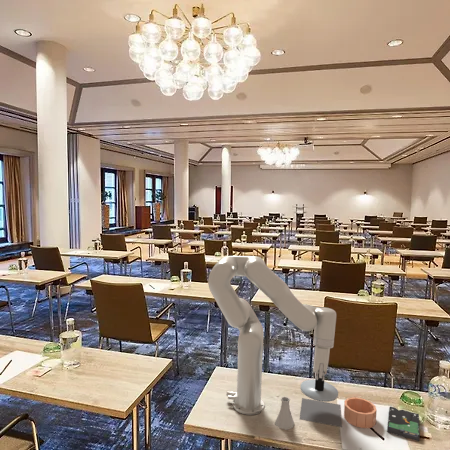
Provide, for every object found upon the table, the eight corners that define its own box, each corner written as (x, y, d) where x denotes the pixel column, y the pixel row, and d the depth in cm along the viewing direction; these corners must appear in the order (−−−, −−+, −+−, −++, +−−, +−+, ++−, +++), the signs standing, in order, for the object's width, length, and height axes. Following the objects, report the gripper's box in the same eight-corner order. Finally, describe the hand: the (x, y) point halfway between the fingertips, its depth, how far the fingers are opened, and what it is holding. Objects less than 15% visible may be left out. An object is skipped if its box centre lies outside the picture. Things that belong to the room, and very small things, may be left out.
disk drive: (388, 412, 140) (386, 433, 127) (389, 405, 140) (387, 425, 127) (418, 420, 135) (420, 443, 122) (419, 413, 135) (420, 435, 122)
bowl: (344, 426, 129) (345, 410, 129) (343, 410, 140) (344, 395, 140) (377, 433, 126) (378, 416, 126) (373, 415, 137) (374, 400, 137)
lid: (299, 396, 132) (300, 382, 131) (301, 379, 145) (302, 366, 145) (338, 405, 128) (340, 390, 128) (337, 386, 141) (338, 372, 141)
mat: (299, 421, 132) (299, 418, 132) (302, 399, 146) (302, 398, 146) (341, 429, 128) (342, 427, 128) (340, 406, 142) (340, 404, 142)
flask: (280, 417, 134) (281, 391, 133) (298, 425, 129) (299, 398, 129) (270, 426, 128) (271, 399, 128) (288, 434, 124) (289, 407, 123)
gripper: (314, 332, 144) (310, 376, 145) (312, 347, 128) (308, 396, 130) (333, 335, 142) (329, 379, 143) (334, 351, 126) (329, 400, 128)
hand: (319, 387), depth 136 cm, fingers closed on lid, 3 cm apart
